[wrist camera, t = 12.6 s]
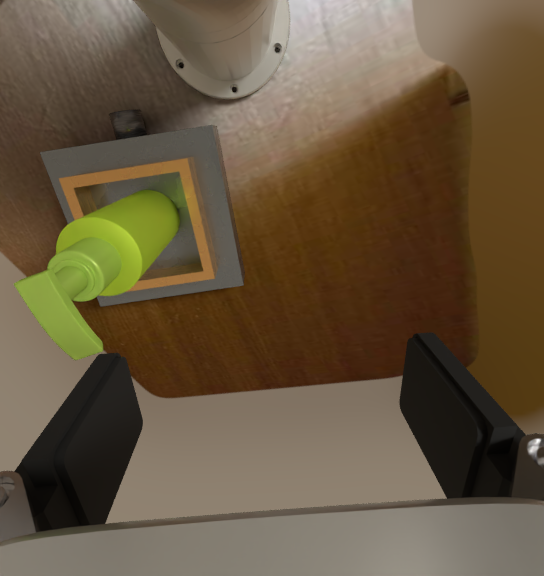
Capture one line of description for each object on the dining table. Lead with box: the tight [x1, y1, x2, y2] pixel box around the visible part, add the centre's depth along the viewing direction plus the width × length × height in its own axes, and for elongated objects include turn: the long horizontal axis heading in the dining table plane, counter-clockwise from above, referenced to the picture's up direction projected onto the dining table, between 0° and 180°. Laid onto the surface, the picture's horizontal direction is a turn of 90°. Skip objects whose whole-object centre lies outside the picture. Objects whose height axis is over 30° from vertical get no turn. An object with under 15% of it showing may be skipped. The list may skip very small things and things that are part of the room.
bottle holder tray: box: [40, 110, 245, 306], centre depth 36 cm, size 19×17×7 cm
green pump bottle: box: [14, 190, 180, 360], centre depth 27 cm, size 6×7×20 cm
